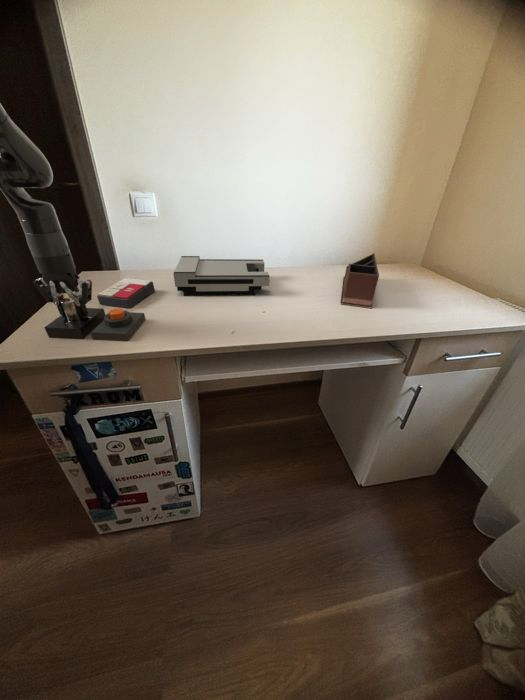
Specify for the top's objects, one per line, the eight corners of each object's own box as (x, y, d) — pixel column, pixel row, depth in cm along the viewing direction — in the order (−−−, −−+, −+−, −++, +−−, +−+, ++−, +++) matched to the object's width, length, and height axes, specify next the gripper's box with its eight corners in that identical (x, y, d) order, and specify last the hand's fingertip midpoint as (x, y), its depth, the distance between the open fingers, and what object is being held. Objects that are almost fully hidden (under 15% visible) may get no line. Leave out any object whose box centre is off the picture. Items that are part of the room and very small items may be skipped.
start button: (121, 320, 74) (119, 314, 73) (107, 320, 74) (106, 314, 73) (127, 314, 77) (125, 308, 76) (114, 314, 77) (112, 308, 76)
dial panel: (83, 339, 72) (79, 328, 70) (48, 337, 72) (43, 326, 70) (106, 317, 82) (103, 308, 80) (75, 316, 82) (72, 306, 80)
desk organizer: (340, 304, 96) (346, 272, 90) (343, 277, 120) (348, 250, 114) (372, 309, 94) (381, 275, 88) (368, 280, 118) (375, 253, 111)
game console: (268, 295, 100) (269, 273, 96) (176, 296, 97) (173, 273, 92) (262, 276, 117) (263, 256, 113) (184, 276, 114) (181, 256, 109)
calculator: (95, 293, 87) (124, 276, 99) (99, 306, 90) (127, 287, 102) (127, 297, 86) (152, 279, 97) (130, 310, 88) (155, 290, 100)
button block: (128, 341, 72) (124, 327, 70) (93, 339, 72) (88, 325, 70) (145, 319, 82) (142, 307, 80) (115, 318, 82) (111, 305, 80)
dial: (87, 314, 77) (81, 296, 74) (78, 321, 74) (71, 302, 71) (73, 313, 77) (66, 295, 74) (63, 319, 74) (56, 301, 71)
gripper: (8, 254, 63) (39, 322, 72) (71, 256, 63) (94, 324, 72) (32, 246, 69) (58, 309, 79) (89, 248, 69) (108, 312, 78)
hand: (75, 316), depth 75 cm, fingers closed on dial, 4 cm apart
